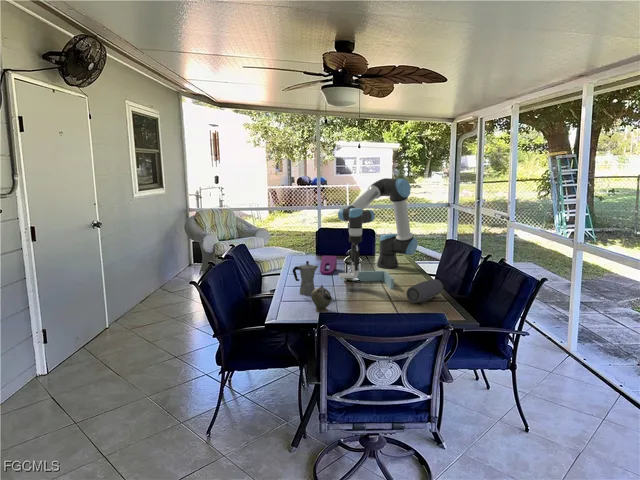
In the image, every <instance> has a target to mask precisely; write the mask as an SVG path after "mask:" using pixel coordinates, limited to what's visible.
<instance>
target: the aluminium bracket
mask: <svg viewBox="0 0 640 480" xmlns="http://www.w3.org/2000/svg"><path fill="white" fill-rule="evenodd" d="M353 264H354V262H353ZM338 277H339V279H355V278H357V276H354V265H353V273H352V272H341V273H340V272H338Z"/></svg>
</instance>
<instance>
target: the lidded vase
mask: <svg viewBox="0 0 640 480" xmlns="http://www.w3.org/2000/svg"><path fill="white" fill-rule="evenodd" d="M310 298H311V301H312V303H313V304H314V306H315V312H316V313H317V312H318V313H326V312H328V311H329V308H328V307H329V305H330V304H331V303H332V300H333V298H332V295H331V292H330V291H329V290H328V289H327V288H326V287H324V286H323V284H321V285H320V286H319V287H315V289H314V290H313V291H312V293H311V295H310Z"/></svg>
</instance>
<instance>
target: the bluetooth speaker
mask: <svg viewBox="0 0 640 480" xmlns="http://www.w3.org/2000/svg"><path fill="white" fill-rule="evenodd" d="M443 291H444V285H443V283H442V282H441V281H440V280H439V279H436V278H433V279H429V280H425V281H422V282H419V283H416V284H414V285H411V286H410V287H408V289H407V291H406V298H407V300H408V301H409V302H410V303H413V304H414V303H415V304H416V303H420V304H421V303H427V302H428V301H431V300H432V298H434V297H436V296H438V295H440V294H442V292H443Z"/></svg>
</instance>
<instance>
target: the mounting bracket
mask: <svg viewBox="0 0 640 480" xmlns="http://www.w3.org/2000/svg"><path fill="white" fill-rule="evenodd" d="M337 260H338V259H337V255H322V258H321V261H320V265H319V274H321V275H325V276H328V275H329V276H330V275H332V274H333V273H334V272H335V271H334V270H336V271H337V264H338V261H337ZM327 266H328V267H329V268H328V270H327Z"/></svg>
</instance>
